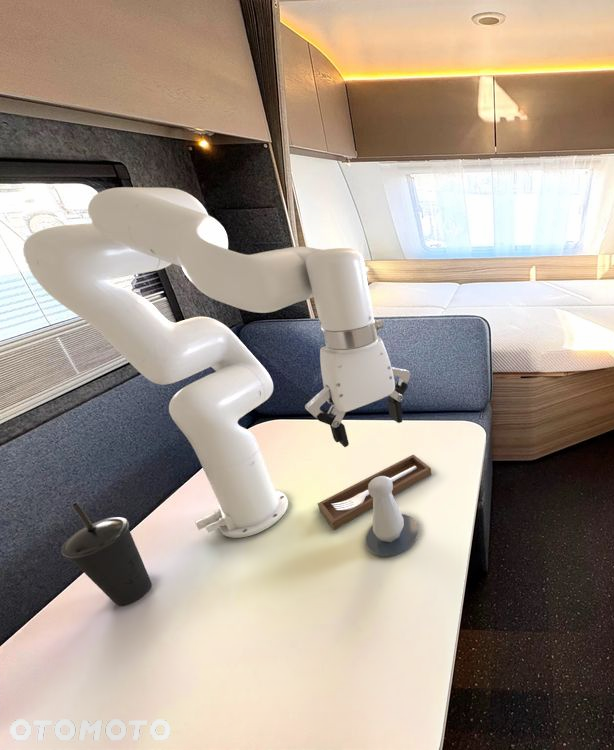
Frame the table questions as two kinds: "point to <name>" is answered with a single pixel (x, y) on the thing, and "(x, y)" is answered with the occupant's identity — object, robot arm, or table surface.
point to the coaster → (397, 545)
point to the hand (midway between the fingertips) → (370, 431)
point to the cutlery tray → (400, 484)
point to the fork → (365, 494)
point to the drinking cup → (109, 558)
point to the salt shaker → (385, 510)
